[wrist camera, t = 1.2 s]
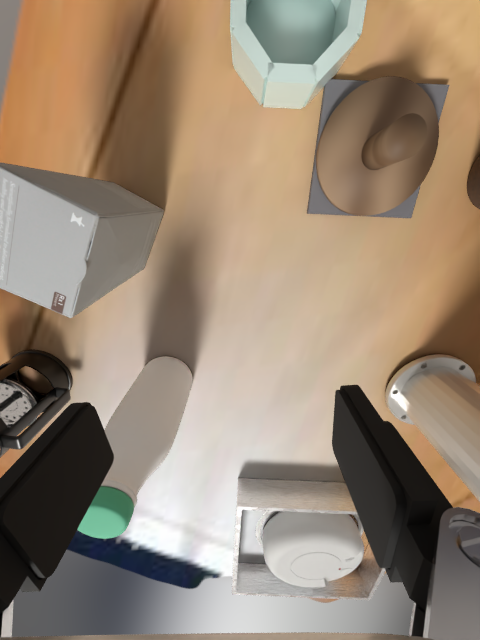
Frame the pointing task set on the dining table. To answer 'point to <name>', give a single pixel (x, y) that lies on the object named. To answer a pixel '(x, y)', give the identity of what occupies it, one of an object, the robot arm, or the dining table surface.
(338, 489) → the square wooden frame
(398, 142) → the lid
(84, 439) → the robot arm
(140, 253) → the skincare box
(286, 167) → the dining table surface
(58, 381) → the french press
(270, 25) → the bowl
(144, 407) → the milk bottle
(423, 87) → the mat
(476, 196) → the plant pot
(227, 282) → the dining table surface
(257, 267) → the dining table surface
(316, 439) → the dining table surface
